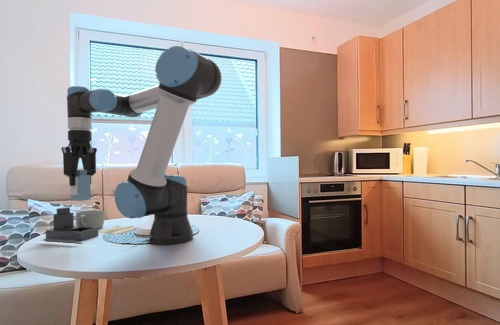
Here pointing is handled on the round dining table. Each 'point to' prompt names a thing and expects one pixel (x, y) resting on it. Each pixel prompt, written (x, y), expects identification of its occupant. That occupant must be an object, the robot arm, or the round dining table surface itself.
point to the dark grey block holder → (68, 228)
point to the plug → (82, 186)
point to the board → (117, 230)
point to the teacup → (90, 218)
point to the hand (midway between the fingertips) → (80, 194)
